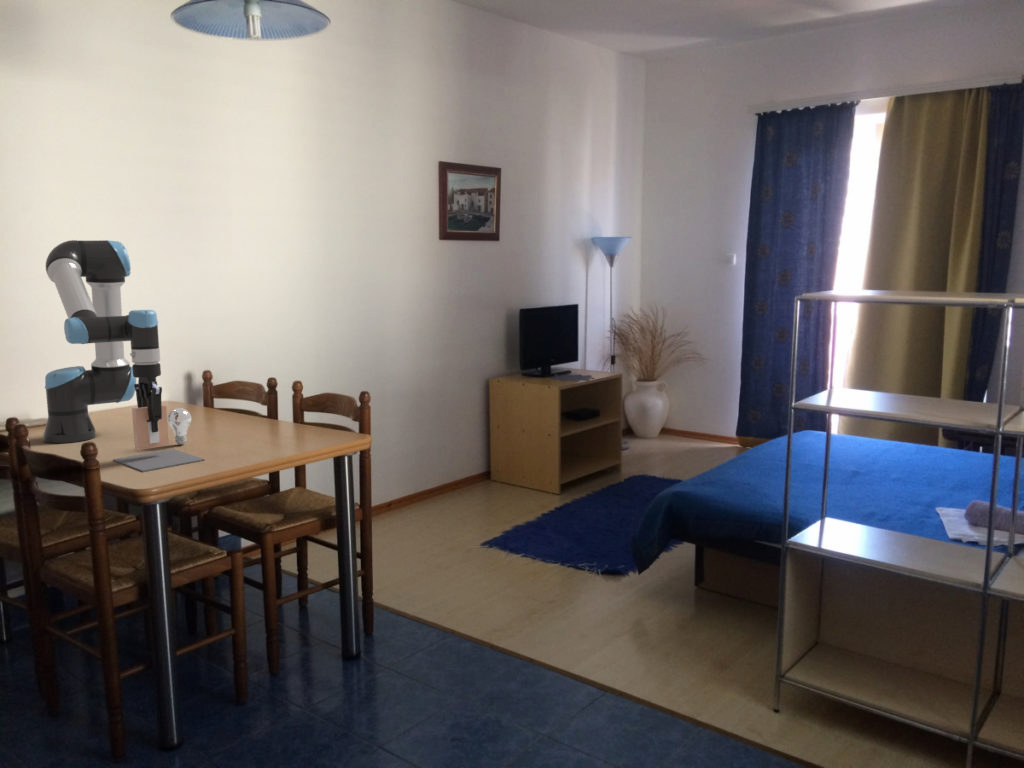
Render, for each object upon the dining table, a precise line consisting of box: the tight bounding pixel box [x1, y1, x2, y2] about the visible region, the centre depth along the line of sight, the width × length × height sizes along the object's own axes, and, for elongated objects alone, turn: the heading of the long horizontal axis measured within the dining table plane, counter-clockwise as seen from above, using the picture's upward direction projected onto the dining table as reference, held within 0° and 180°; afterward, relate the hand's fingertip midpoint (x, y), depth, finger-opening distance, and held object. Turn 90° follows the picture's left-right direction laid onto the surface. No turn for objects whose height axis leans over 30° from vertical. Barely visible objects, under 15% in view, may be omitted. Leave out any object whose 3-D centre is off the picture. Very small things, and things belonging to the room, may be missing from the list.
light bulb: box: [167, 407, 192, 446], centre depth 260 cm, size 7×7×12 cm
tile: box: [131, 404, 170, 451], centre depth 242 cm, size 2×9×12 cm, turn 137°
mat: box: [113, 448, 205, 473], centre depth 241 cm, size 20×18×1 cm
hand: (151, 441), depth 243 cm, fingers closed on tile, 2 cm apart
